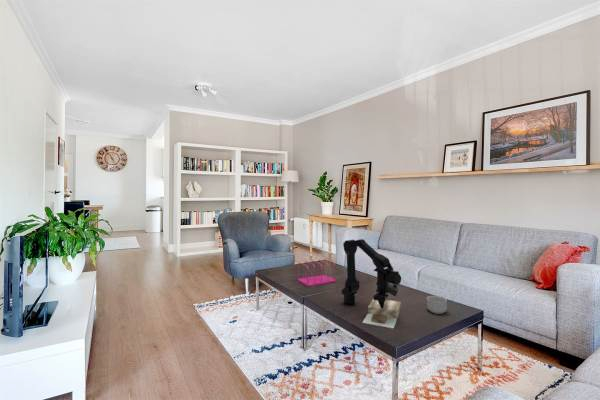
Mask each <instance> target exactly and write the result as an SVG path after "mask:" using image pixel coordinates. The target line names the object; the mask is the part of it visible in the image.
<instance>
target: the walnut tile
mask: <svg viewBox="0 0 600 400" xmlns="http://www.w3.org/2000/svg"><path fill="white" fill-rule="evenodd" d="M386 320H387V315H381V314H375V313H374V314H373V316H372V317H371V321H372V322H377V323H382V324H385V322H386Z"/></svg>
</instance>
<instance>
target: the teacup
mask: <svg viewBox="0 0 600 400" xmlns="http://www.w3.org/2000/svg"><path fill="white" fill-rule="evenodd" d="M447 301H448V299H447V298H446V297H444V296H443V295H429V296H427V297H426V307H427V309H428V311H430V312H431V313H432V314H437V315H441V314H444V313H446V311H447V310H448V302H447Z"/></svg>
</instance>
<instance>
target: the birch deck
mask: <svg viewBox="0 0 600 400" xmlns="http://www.w3.org/2000/svg"><path fill="white" fill-rule="evenodd" d="M401 310H402V302H401V301H397V300H391V299H386V301H385V303H384V307H383V308H381V307H380V304H379V302H378V300H374V299H373V298H372V300H371V301H370V303H369V305H368V306H367V314H374V313H375V314H381V315H387V317H392V318H397V319H398V318H399V315H400V312H401Z"/></svg>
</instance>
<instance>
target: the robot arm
mask: <svg viewBox="0 0 600 400" xmlns="http://www.w3.org/2000/svg"><path fill="white" fill-rule="evenodd" d="M342 246H343V251H344V253H345V255H346V266H347V267H346V270H347V271H346V273H347V276H346V277H347V278H346V279H345V283H344V288H342V289H341V295H343V302H342V304H343V305H345V306H351V307H353V306H355V304H356V303H357V297H356V294H358V291H359V289H360V288H361V286H360V280H358V279H357V278H356V277H357V275H356V253H357V252H358V251H357V250H358V248H359V249H360V250H362V251H363V252H364V253H365V254H366V255H367V256H368V257H369V258H370V259H371V260H372V264H373V265H374V266H375V268H374V269H373V271H374V272H376V283H375V284H376V289H375V290H376V291H375V292H376V293H374V294H373V296H372V297H373V298H372V300H373V299H374V300H378V302H379V304H380V307H381V308H383V307H384V303H385V301H386V300H388V297H389V294H390V295H392V296H393V297H396V296H397V295H398V292H399V288H398V285H400V284H401V281H402V276H401V274H400V272H399V271H396V270H395V269H394V267H393V266H392V264H391V262H390V259H389V257H387V256H385V255H384V254H380V253H379V252H377V251H376V250H375V249H374V248H373V247H372V246H371V245H369V244H368V243H367V241H366V240H365V239H362V238H360V239H356V240H355V239H349V240H348V239H347V240H344V242H343V244H342ZM390 284H391V285H390ZM392 284H393V285H392Z"/></svg>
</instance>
